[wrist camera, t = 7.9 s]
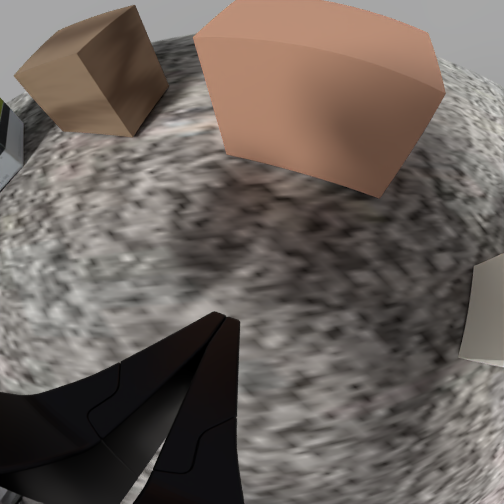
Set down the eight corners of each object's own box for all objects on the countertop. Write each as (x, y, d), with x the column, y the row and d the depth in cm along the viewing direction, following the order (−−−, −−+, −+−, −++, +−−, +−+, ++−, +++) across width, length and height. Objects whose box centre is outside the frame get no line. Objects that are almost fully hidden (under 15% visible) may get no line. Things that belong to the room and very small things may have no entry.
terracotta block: (379, 198, 15) (445, 93, 7) (227, 154, 17) (193, 37, 8) (387, 130, 17) (428, 32, 8) (257, 95, 18) (245, -7, 10)
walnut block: (132, 137, 18) (76, 53, 10) (63, 131, 20) (13, 75, 12) (169, 86, 20) (134, 4, 11) (95, 88, 21) (58, 30, 13)
